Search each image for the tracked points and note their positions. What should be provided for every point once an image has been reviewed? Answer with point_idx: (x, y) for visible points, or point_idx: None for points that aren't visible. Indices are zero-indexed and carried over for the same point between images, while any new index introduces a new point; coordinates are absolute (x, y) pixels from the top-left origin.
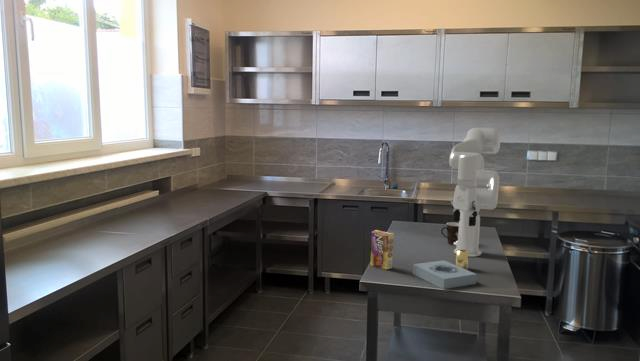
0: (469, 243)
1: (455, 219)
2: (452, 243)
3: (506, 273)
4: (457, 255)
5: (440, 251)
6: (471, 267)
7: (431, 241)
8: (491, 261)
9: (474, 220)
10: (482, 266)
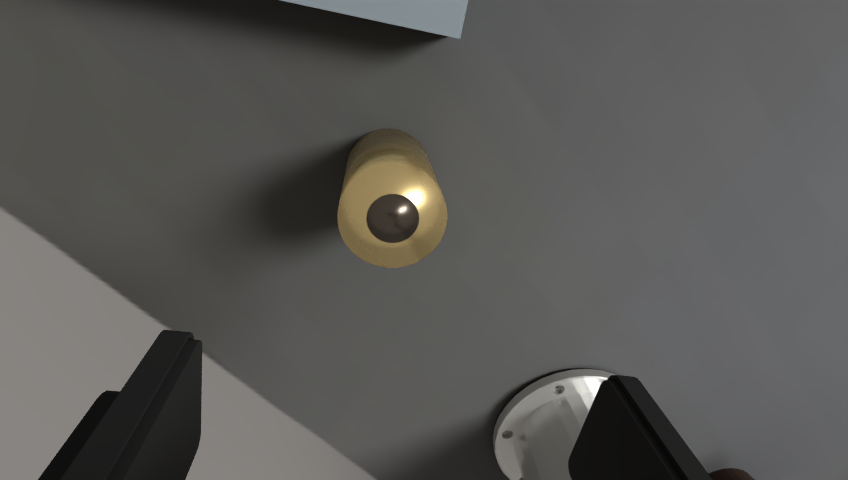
0: (558, 462)
1: (611, 413)
2: (718, 477)
3: None
4: (401, 155)
5: (699, 336)
6: None
7: (834, 430)
8: (389, 425)
9: None
10: (349, 319)
